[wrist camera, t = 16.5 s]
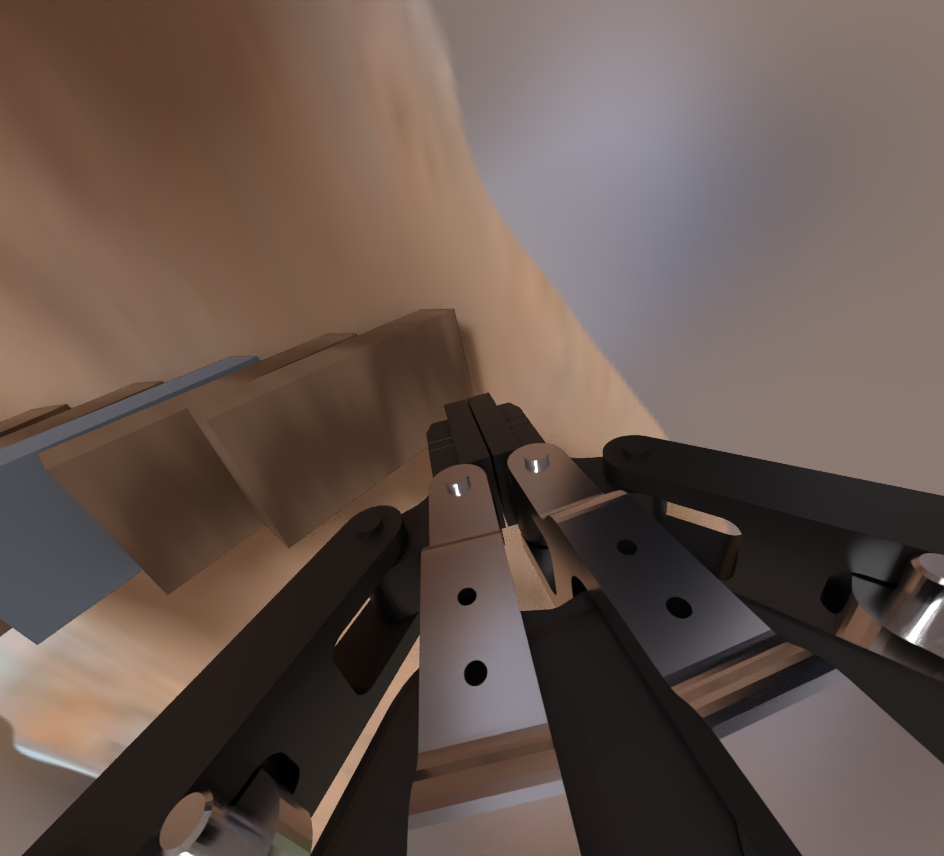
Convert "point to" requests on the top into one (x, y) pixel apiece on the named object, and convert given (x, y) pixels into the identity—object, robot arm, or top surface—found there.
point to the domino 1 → (67, 521)
